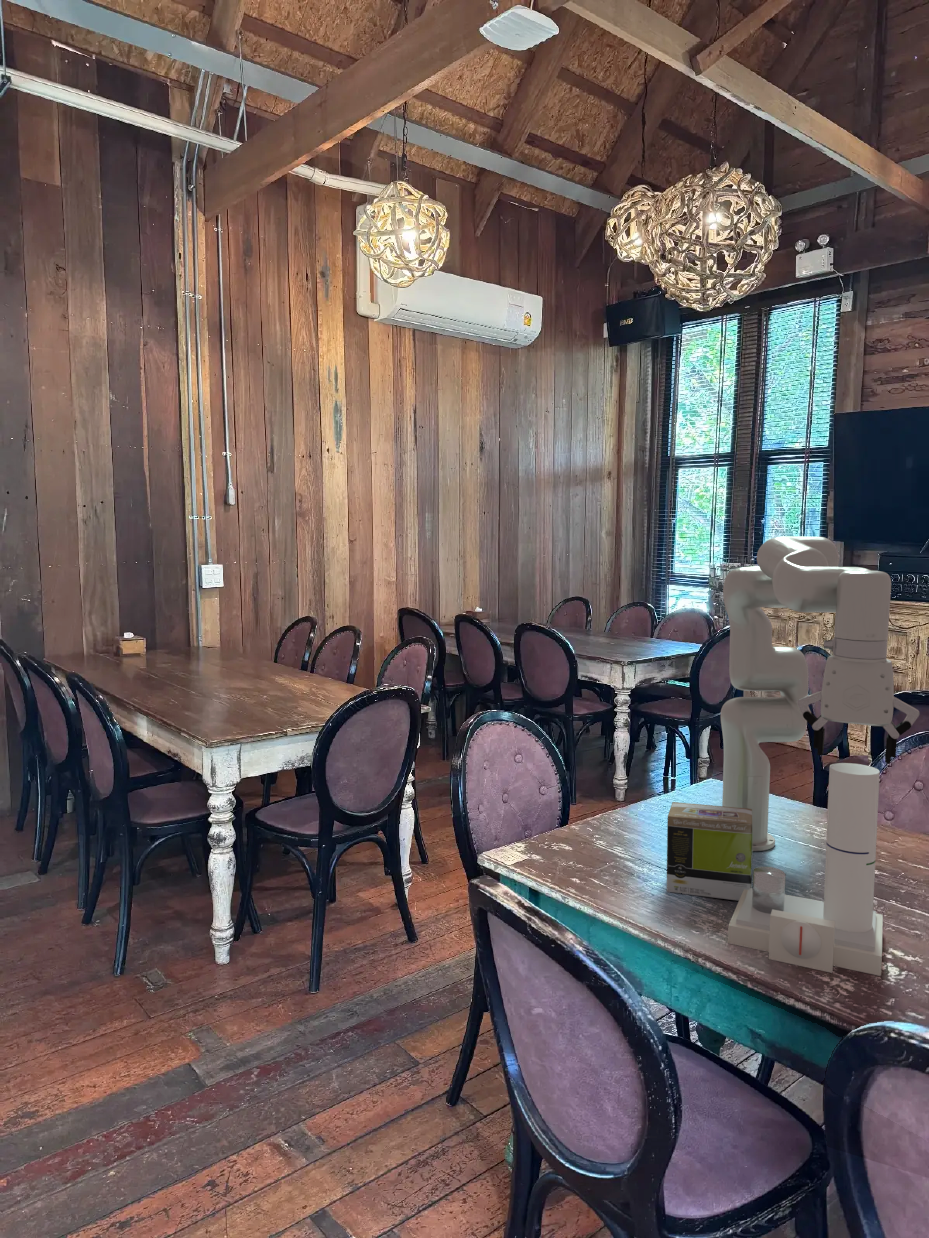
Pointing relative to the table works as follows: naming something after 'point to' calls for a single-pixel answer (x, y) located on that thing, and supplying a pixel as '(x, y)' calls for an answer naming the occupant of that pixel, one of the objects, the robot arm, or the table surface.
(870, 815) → the cylindrical container
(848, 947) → the scale
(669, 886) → the tea box
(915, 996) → the table surface
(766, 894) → the shiny metallic cylinder
